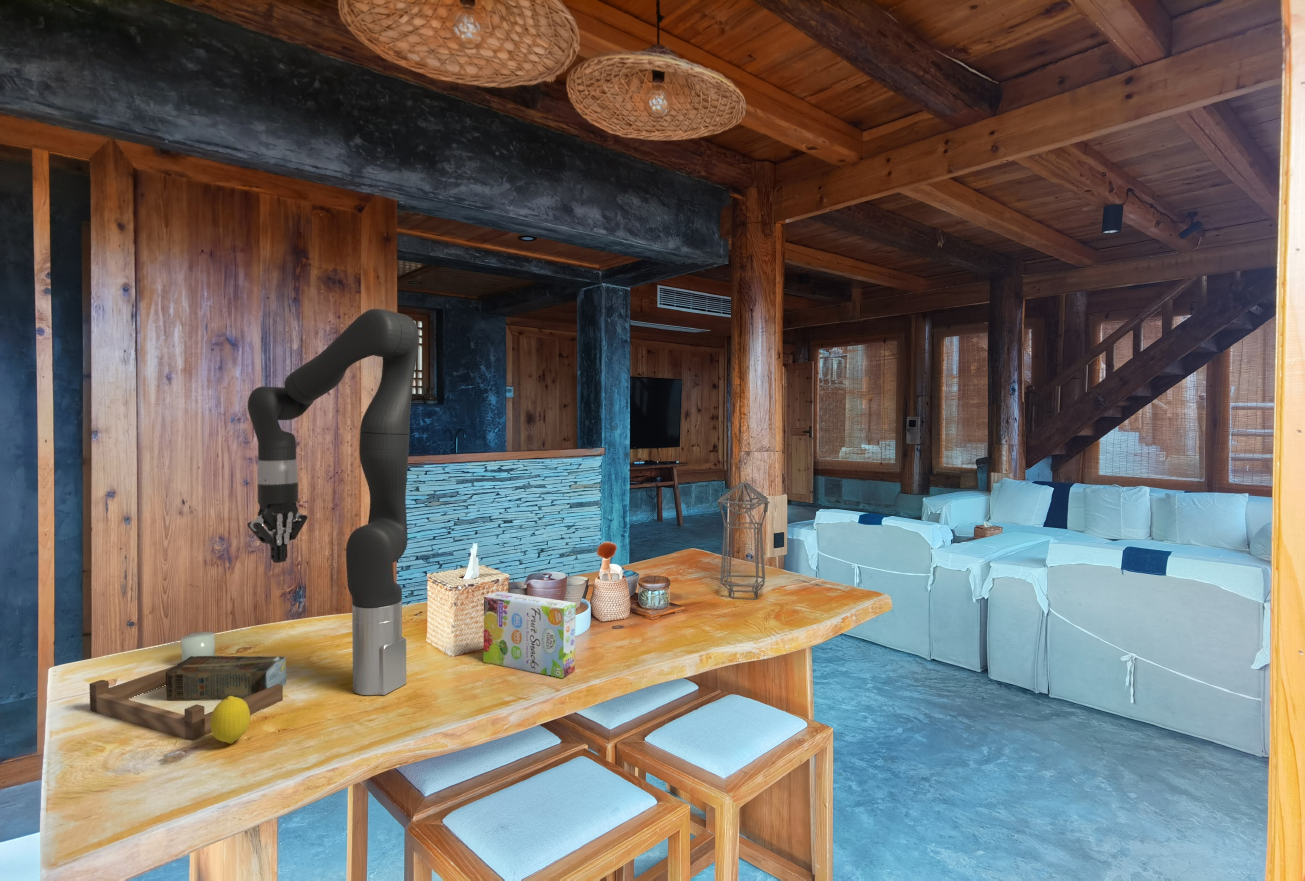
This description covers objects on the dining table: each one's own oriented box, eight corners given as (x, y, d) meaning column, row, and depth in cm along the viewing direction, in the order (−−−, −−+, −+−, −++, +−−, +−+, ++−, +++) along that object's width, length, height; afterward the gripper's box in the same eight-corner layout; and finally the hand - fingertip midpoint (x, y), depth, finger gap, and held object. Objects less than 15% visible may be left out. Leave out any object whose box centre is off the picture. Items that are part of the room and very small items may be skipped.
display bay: (282, 700, 125) (282, 674, 125) (192, 740, 110) (192, 711, 110) (184, 676, 136) (184, 652, 136) (90, 710, 120) (89, 683, 120)
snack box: (576, 670, 141) (577, 601, 141) (562, 680, 136) (563, 608, 136) (497, 654, 150) (497, 589, 150) (481, 662, 145) (481, 595, 145)
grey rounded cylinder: (221, 660, 145) (221, 634, 145) (193, 670, 139) (193, 642, 139) (203, 656, 147) (202, 630, 147) (175, 666, 142) (174, 638, 141)
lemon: (221, 755, 105) (220, 706, 105) (204, 746, 108) (203, 698, 108) (257, 741, 110) (256, 694, 109) (240, 732, 113) (239, 686, 112)
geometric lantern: (716, 601, 195) (716, 483, 194) (719, 588, 210) (719, 479, 210) (770, 603, 192) (770, 484, 192) (769, 590, 208) (769, 480, 207)
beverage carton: (267, 701, 125) (266, 667, 125) (162, 703, 124) (162, 669, 124) (288, 684, 133) (287, 652, 133) (190, 685, 132) (189, 653, 132)
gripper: (261, 484, 132) (263, 570, 132) (317, 479, 144) (318, 557, 144) (235, 483, 134) (237, 567, 135) (292, 477, 147) (293, 554, 147)
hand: (279, 561), depth 140 cm, fingers closed
